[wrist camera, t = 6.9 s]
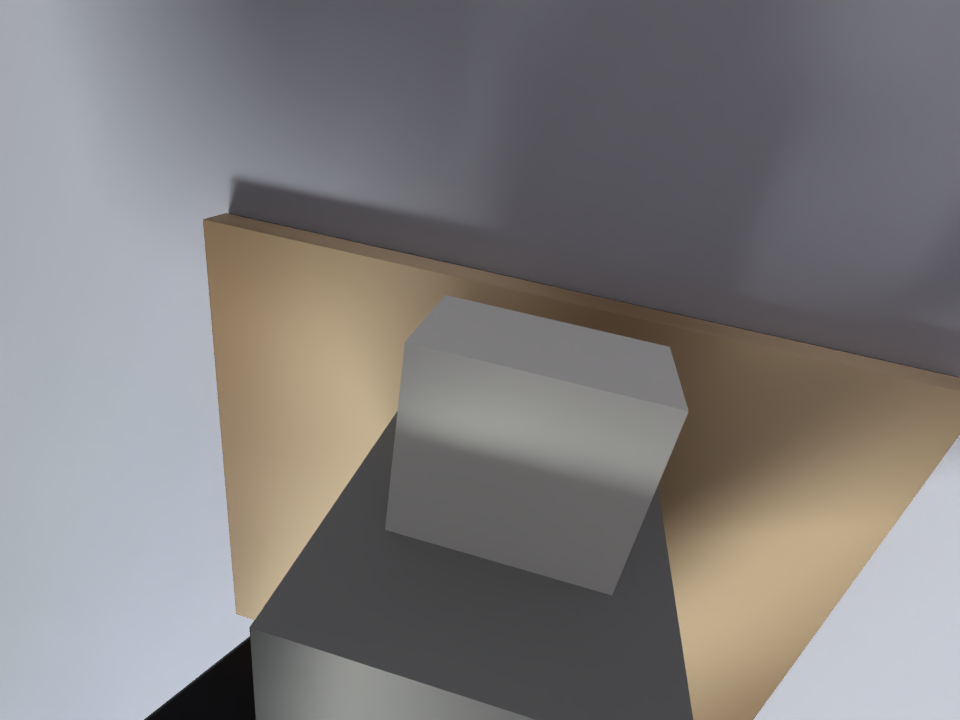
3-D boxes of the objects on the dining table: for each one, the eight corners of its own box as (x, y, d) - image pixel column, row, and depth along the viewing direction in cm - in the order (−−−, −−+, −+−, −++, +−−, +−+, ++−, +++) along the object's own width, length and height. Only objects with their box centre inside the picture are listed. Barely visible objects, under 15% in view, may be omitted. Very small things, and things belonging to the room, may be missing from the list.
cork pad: (250, 594, 14) (236, 613, 13) (226, 213, 9) (203, 219, 9) (713, 739, 12) (718, 768, 12) (959, 378, 8) (986, 397, 7)
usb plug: (540, 753, 11) (513, 1042, 8) (369, 697, 12) (271, 946, 8) (714, 324, 7) (844, 567, 3) (417, 257, 7) (235, 403, 4)
